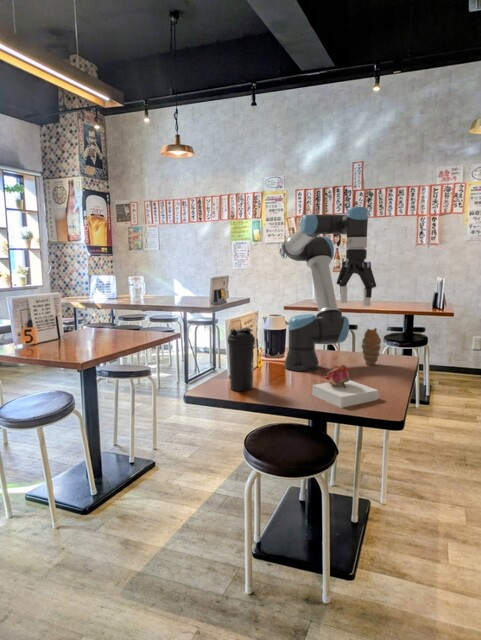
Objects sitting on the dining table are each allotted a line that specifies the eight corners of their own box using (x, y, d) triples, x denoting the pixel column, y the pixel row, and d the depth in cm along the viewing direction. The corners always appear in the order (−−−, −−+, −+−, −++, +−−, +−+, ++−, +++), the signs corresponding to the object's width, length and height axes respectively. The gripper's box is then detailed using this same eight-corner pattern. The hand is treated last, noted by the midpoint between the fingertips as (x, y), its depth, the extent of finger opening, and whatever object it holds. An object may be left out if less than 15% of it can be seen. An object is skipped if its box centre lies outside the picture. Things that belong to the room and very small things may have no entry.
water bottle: (257, 391, 169) (256, 330, 166) (230, 392, 167) (229, 331, 164) (252, 383, 179) (251, 326, 176) (226, 385, 177) (225, 327, 174)
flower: (354, 379, 153) (343, 359, 156) (331, 392, 155) (320, 372, 158) (358, 383, 162) (346, 364, 165) (335, 396, 163) (324, 377, 167)
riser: (312, 395, 162) (312, 385, 162) (347, 389, 169) (347, 379, 169) (341, 408, 148) (341, 397, 148) (378, 401, 155) (378, 390, 155)
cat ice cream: (369, 370, 197) (370, 330, 194) (356, 367, 204) (357, 327, 201) (384, 368, 201) (385, 328, 199) (371, 364, 208) (372, 326, 206)
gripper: (328, 249, 181) (327, 301, 184) (371, 248, 159) (369, 308, 162) (343, 249, 184) (342, 300, 187) (387, 248, 162) (385, 307, 165)
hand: (354, 304), depth 174 cm, fingers open, 13 cm apart
